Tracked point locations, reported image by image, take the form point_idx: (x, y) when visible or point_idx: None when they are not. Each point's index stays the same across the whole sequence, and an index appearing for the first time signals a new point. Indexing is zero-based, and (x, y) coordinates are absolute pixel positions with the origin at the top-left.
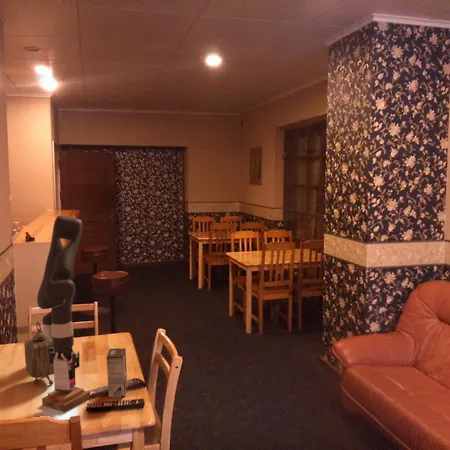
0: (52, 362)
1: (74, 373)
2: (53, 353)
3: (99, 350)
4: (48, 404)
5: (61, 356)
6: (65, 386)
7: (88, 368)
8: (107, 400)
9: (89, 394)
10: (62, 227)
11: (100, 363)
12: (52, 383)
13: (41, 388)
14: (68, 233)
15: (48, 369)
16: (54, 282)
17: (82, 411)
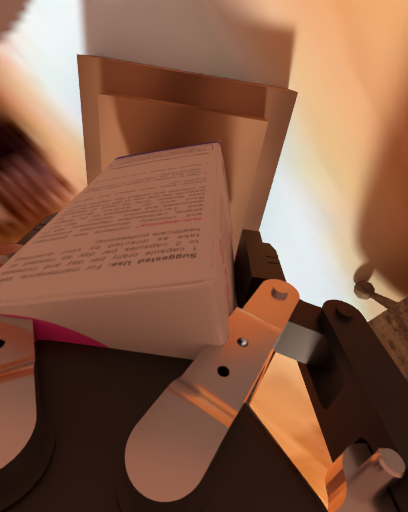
0: (318, 317)
1: None
2: (355, 445)
3: (316, 469)
4: (237, 80)
5: (109, 399)
6: (124, 164)
7: (283, 399)
8: (20, 236)
9: None
10: None
11: (264, 425)
12: (354, 287)
13: (391, 246)
14: None
15: (402, 331)
16: None
17: (17, 99)
